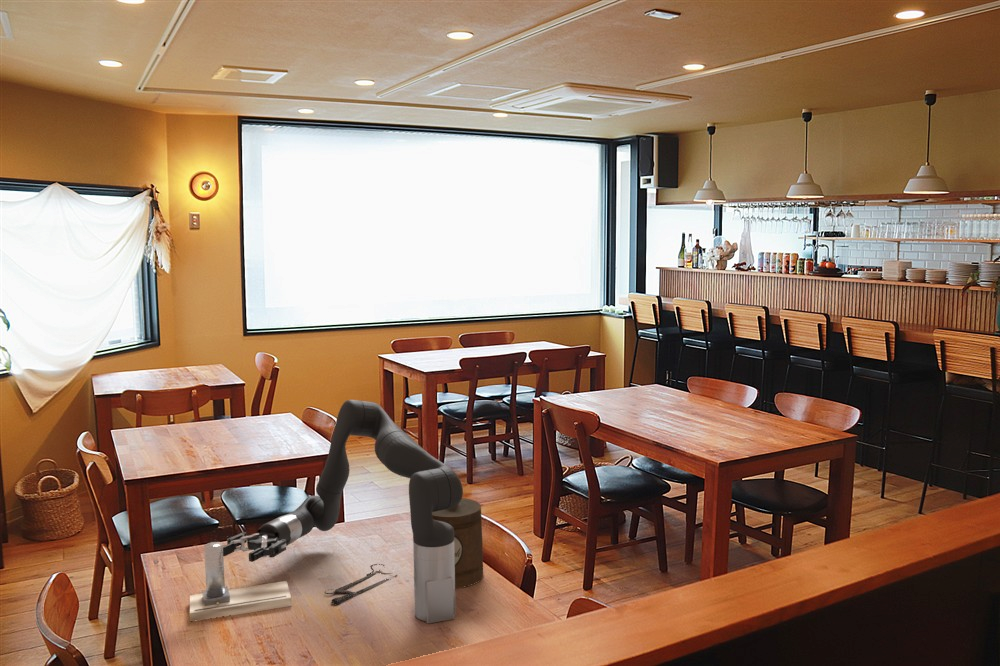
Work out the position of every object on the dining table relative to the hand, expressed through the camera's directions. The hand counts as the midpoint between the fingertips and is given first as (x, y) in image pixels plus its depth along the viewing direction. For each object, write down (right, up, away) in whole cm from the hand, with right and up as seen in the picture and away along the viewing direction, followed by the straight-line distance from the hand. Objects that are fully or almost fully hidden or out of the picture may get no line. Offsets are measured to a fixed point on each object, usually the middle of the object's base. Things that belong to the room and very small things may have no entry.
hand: (236, 555), depth 198 cm
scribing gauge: (-2, -8, -7) cm, 11 cm away
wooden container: (+51, -8, +10) cm, 53 cm away
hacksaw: (+28, -9, +6) cm, 30 cm away
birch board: (+3, -10, -5) cm, 12 cm away
